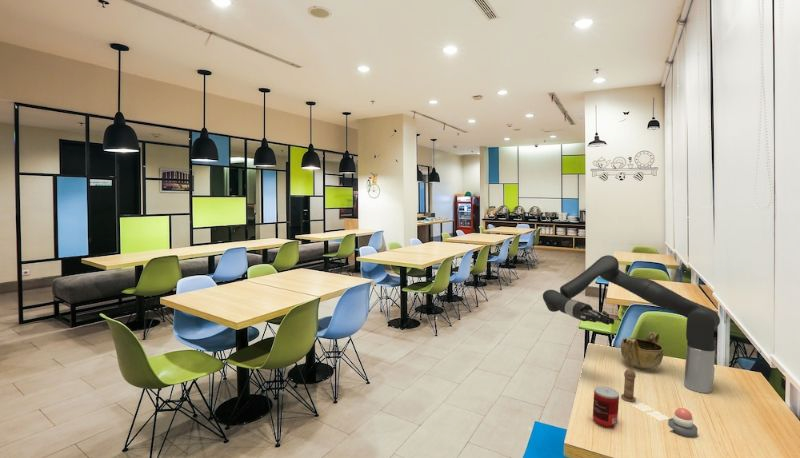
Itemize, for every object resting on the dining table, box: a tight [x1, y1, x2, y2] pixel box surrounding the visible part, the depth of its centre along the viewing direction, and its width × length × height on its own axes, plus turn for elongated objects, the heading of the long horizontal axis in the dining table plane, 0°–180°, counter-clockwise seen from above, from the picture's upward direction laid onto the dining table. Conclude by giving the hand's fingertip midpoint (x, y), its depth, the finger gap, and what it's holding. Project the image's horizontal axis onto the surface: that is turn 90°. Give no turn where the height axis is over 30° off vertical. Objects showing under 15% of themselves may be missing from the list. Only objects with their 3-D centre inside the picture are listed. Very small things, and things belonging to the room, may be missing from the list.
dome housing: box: [667, 417, 698, 439], centre depth 134 cm, size 8×8×2 cm
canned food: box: [592, 385, 620, 429], centre depth 138 cm, size 8×8×11 cm
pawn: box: [620, 369, 637, 404], centre depth 152 cm, size 5×5×12 cm
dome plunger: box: [673, 407, 694, 428], centre depth 134 cm, size 5×5×5 cm
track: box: [619, 395, 671, 422], centre depth 147 cm, size 8×18×1 cm, turn 20°
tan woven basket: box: [620, 331, 664, 371], centre depth 185 cm, size 22×17×15 cm
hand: (611, 322), depth 160 cm, fingers closed
